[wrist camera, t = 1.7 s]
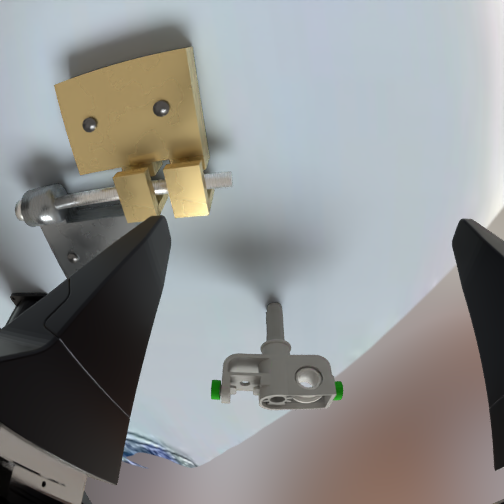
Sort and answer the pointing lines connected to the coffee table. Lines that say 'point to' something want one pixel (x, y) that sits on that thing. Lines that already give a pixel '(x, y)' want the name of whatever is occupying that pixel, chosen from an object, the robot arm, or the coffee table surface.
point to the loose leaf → (142, 131)
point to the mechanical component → (278, 373)
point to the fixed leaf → (86, 218)
